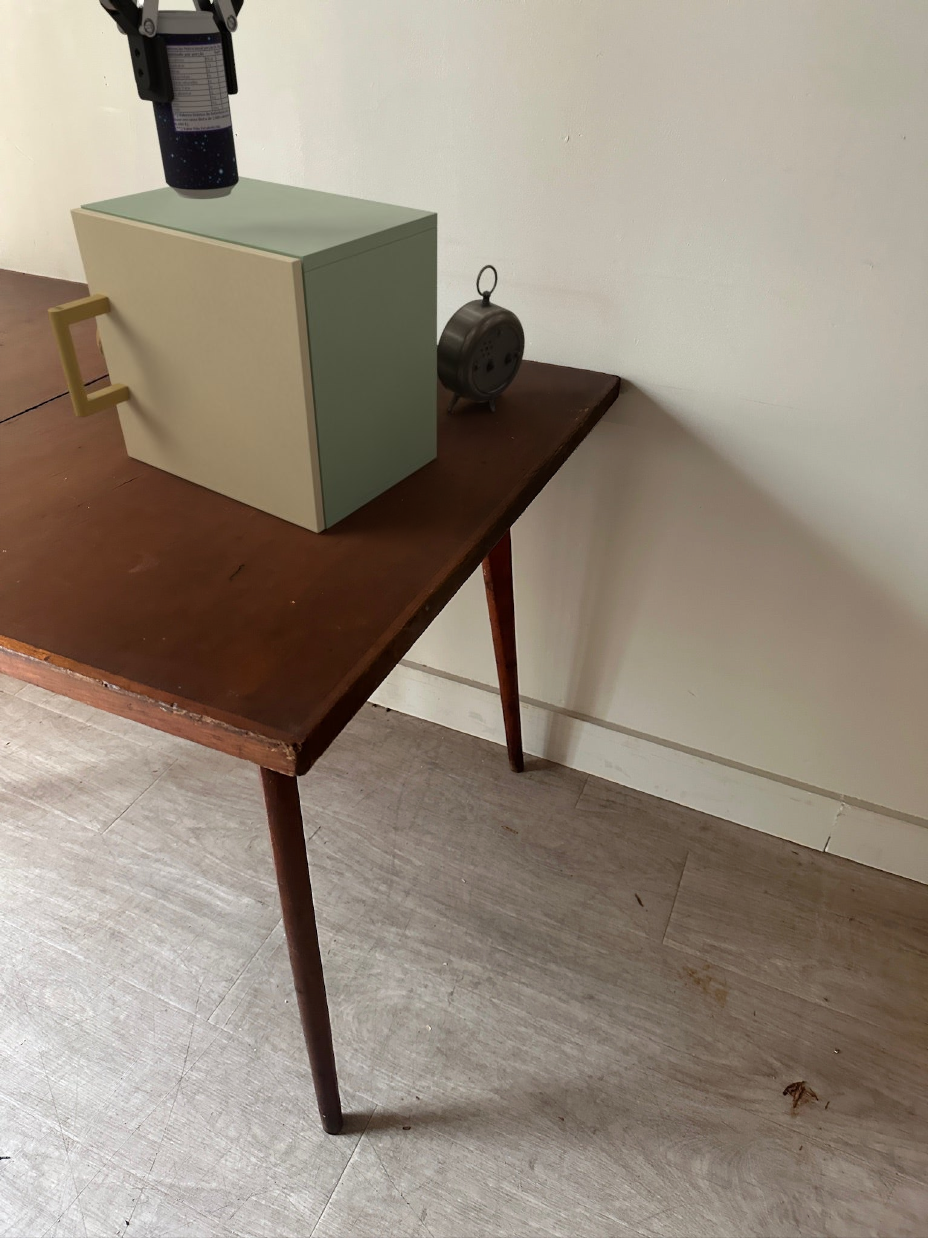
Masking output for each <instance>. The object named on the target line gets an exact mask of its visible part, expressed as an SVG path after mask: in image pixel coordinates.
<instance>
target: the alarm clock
mask: <svg viewBox="0 0 928 1238" xmlns="http://www.w3.org/2000/svg"><path fill="white" fill-rule="evenodd" d="M487 269H491V270H492V271H493V275H494V282H493V286H492V288H491V289H490V291H489V290H483V292H481V290H480V280H481V277H482V275H483V273H484V271H485V270H487ZM475 283H476V290H477V293H478V295H480V296H481V297H482V298H481V299H480V298H479V299H474V300H471V301H469V302H467V303H465V304H463V305H462V306H461V307H459V308H458V309H457V310H456V311H455V312H454V313H453V314H452V316H451V317H450V318H449V319H448V321H447V322H446V324H445V326H444V328H443V330H442V332H441V335H440V337H439V340H438V342H437V378H438V380H439V382H440V383H441V385H442V386H443V387H444V388H445V390H448V391H449V392H451V393H453V396H452V398H451V401H450V404H449V407H447V408H446V413H448V414H451V413H452V411H453V408H454V407H455V406H456V404H457V403H458V402H459V399H460V398H463V399H465V400H467V401H468V402H472V403H478V404H480V403H481V404H482V403H487V402H488V404H489V408H490V411H492V412H494V413H495V412H496V406H495V399H496V398H497V397H499V396H500V395H502V394H503V392H505V391H506V390H507V389H508V388H509V386H510V385H511V384H512V382H513V381H514V379H515V377H516V376H517V374H518V372H519V369H520V367H521V364H522V361H523V357H524V354H525V347H526V346H525V344H526V340H525V339H526V338H525V330H524V328H523V324H522V322H521V320H520V319H519V317H518V316H517V315H516V314H515V313H514V312H513V311H512V310H510V309H507V308H505V307H503V306H500V305H498V304H496V303H494V302H491V301H490V298H491V296H492V294H493V293H494V291H495V289H496V287H497V284H498V271H497V269H496V268H495V266H493V264H486V265H485V266H483V267H482V268H481V269H480V270H479V272H478V274H477V277H476V282H475Z"/></svg>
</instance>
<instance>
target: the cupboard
mask: <svg viewBox="0 0 928 1238" xmlns="http://www.w3.org/2000/svg"><path fill="white" fill-rule="evenodd" d="M238 177H239V181H238V183H237V184H236V185H235V187H234V188H233V189H232V190H231V194H230V195H228V196H225V197H221V198H214V199H190V198H184V197H181V196H179V195H178V194H177V192H176V191H175V190H174V189H172V188H171V187H170V186H165V187H160V188H157V189H151V190H147V191H143V192H138V193H133V194H128V195H123V196H118V197H114V198H113V197H112V198H109V199H104V200H100V201H95V202H90V203H86V204H85V203H84V204H81V205H80V208H82V209H86V210H90V211H94V212H99V213H103V214H107V215H112V216H116V217H120V218H125V219H129V220H133V221H137V222H142V223H146V224H150V225H155V226H159V227H163V228H168V229H172V230H176V231H180V232H185V233H189V234H193V235H198V236H202V237H206V238H210V239H215V240H219V241H223V242H228V243H232V244H236V245H241V246H245V247H249V248H253V249H258V250H262V251H266V252H271V253H275V254H279V255H283V256H288V257H292V258H296V259H300V260H301V269H302V280H303V291H304V302H305V314H306V325H307V336H308V347H309V359H310V370H311V381H312V392H313V403H314V415H315V426H316V437H317V448H318V460H319V471H320V482H321V493H322V504H323V516H324V527H325V529H326V530H328V529H329V528H331V527H332V526H334V525H336V524H337V523H339V522H340V521H342V520H343V519H345V518H346V517H348V516H349V515H351V514H352V513H354V512H355V511H357V510H359V509H361V507H363V506H365V505H366V504H368V503H369V502H371V501H372V500H374V499H375V498H377V497H379V496H380V495H382V494H383V493H384V492H386V491H388V490H389V489H391V488H392V487H394V486H395V485H397V484H398V483H400V482H401V481H403V480H404V479H406V478H407V477H408V476H411V475H412V474H414V473H415V472H417V471H418V470H419V469H421V468H422V467H424V466H425V465H427V464H429V463H430V462H432V461H434V460H435V459H437V456H438V451H437V450H438V448H437V447H438V444H437V443H438V436H437V435H438V434H437V433H438V426H437V425H438V374H437V347H438V212H435V211H429V210H425V209H419V208H413V207H408V206H403V205H397V204H392V203H386V202H381V201H375V200H371V199H364V198H359V197H353V196H348V195H342V194H339V193H338V194H337V193H332V192H327V191H321V190H316V189H310V188H305V187H301V186H300V187H298V186H294V185H288V184H283V183H279V182H278V183H277V182H272V181H267V180H261V179H256V178H250V177H245V176H239V175H238Z"/></svg>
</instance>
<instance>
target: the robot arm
mask: <svg viewBox="0 0 928 1238" xmlns="http://www.w3.org/2000/svg"><path fill="white" fill-rule="evenodd" d="M98 2H99V4H100V6H101V7H102V8H103V9H104V11H105V12H106V13H107V14H108V15H109V17H110V18H112V20H113V21H114V22H115V23H116V28H117V31H118V32H119V33H120V34H121V35H124V36H126V37H127V43H128V49H129V55H130V59H131V65H132V71H133V76H134V82H135V84H136V89H137V94H138V97H139V100H142V101H146V102H147V101H148V102H152V101H153V102H160V103H170V102H172V101H173V100H174V92H173V86H172V79H171V73H170V66H169V60H168V54H167V47H166V42H165V40H164V37H158V36H156V30H157V18H158V10H159V4H160V0H98ZM192 3H193V6H194V8H195V11H207V12H212V13H213V17H212V18H213V20H214V22H215V24H216V26H217V28H218V30H219V32H220V34H221V39H222V47H223V55H224V63H225V71H226V79H227V87H228V96H232V95H237V94H238V92H239V85H238V76H237V68H236V60H235V51H234V43H233V34H232V33H235V32H236V31H237V30H238V23H239V22H238V16H239V15H240V12H241V10H242V7H243V6H244V3H245V0H212V1H211V0H192Z"/></svg>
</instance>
